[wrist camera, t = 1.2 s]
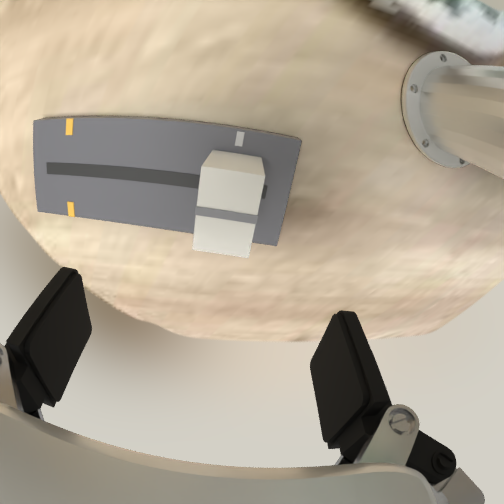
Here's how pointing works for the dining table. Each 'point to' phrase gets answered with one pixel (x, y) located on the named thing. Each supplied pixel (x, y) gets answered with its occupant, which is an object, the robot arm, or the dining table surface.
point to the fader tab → (228, 203)
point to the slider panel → (151, 169)
